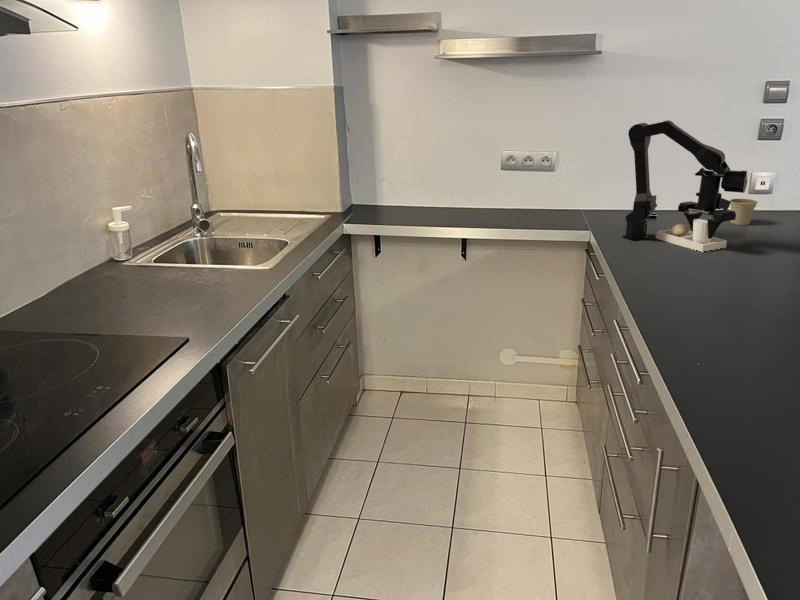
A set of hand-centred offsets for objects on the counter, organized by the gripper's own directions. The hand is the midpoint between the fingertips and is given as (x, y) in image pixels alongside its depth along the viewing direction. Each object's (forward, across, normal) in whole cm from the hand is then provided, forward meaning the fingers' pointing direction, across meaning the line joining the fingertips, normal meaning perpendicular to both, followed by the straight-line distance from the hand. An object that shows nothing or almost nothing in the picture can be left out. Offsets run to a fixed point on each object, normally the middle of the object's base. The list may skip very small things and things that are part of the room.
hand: (702, 236), depth 206 cm
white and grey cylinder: (+2, 0, 0) cm, 2 cm away
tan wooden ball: (+4, +10, 0) cm, 10 cm away
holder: (+4, +5, 0) cm, 6 cm away
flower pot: (+4, +16, -37) cm, 40 cm away
